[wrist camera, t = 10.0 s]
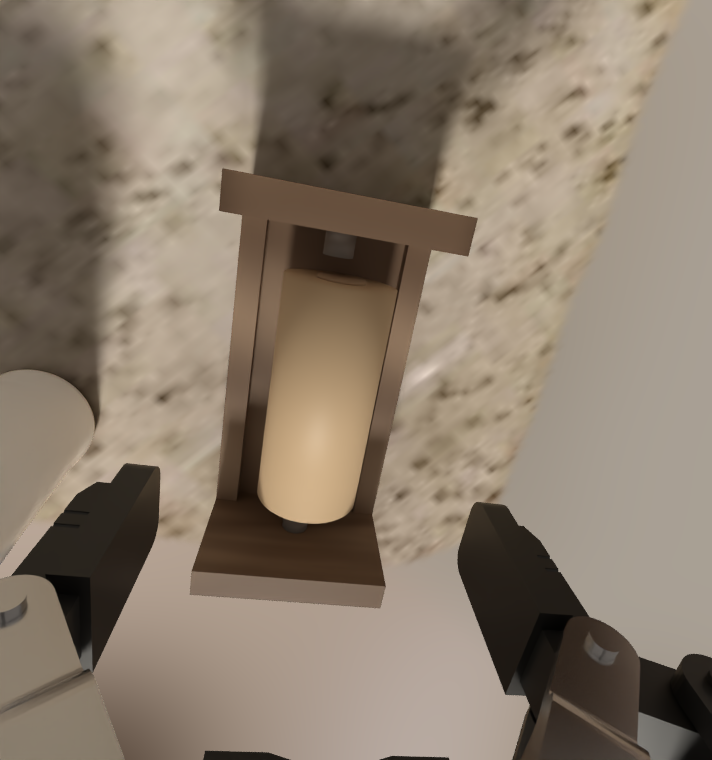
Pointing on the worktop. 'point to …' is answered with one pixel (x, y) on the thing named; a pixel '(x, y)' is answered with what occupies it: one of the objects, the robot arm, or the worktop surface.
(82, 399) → the drinking glass
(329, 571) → the holder
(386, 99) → the worktop surface
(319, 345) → the roll
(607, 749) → the robot arm
